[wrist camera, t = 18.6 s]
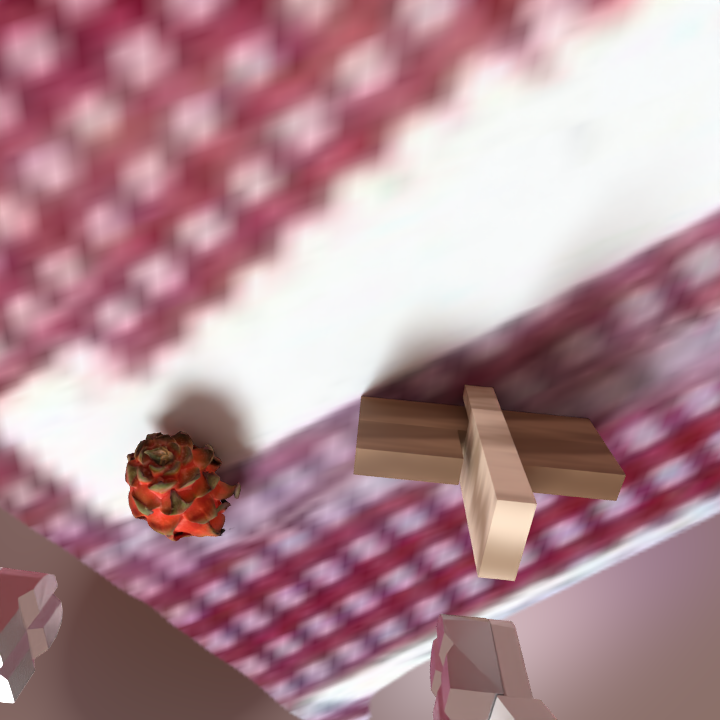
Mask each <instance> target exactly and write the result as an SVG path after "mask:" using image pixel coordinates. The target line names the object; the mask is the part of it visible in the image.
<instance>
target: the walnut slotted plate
mask: <svg viewBox="0 0 720 720" xmlns="http://www.w3.org/2000/svg"><path fill="white" fill-rule="evenodd" d="M502 413H503V416H504V418H505V421H506V424H507V426H508V429H509V432H510V434H511V437H512V439H513V442H514V445H515V447H516V450H517V453H518V455H519V458H520V461H521V463H522V466H523V469H524V471H525V474H526V476H527V479H528V482H529V484H530V487H531V490H532V492H534V493H544V494H554V495H564V496H574V497H584V498H593V499H603V500H613V501H616V500H617V497H618V495H619V492H620V489H621V487H622V484H623V481H624V478H625V476H626V475H625V473H624V472H623V470H622V469H621V467H620V466H619V464H618V463H617V461H616V460H615V458H614V457H613V455H612V453H611V452H610V450H609V449H608V447H607V446H606V444H605V443H604V441H603V440H602V438H601V437H600V435H599V434H598V432H597V431H596V429H595V427H594V426H593V424H592V423H591V421H590V420H589V419H587V418H577V417H566V416H556V415H546V414H536V413H526V412H516V411H506V410H502ZM468 424H469V419H468V416H467V412H466V408H465V406H456V405H446V404H436V403H426V402H416V401H405V400H395V399H385V398H375V397H365V396H361V404H360V414H359V424H358V434H357V445H356V455H355V465H354V474H355V475H365V476H375V477H385V478H395V479H405V480H415V481H425V482H434V483H444V484H454V485H458V484H459V479H460V475H461V470H462V465H463V460H464V458H463V448H464V443H465V438H466V433H467V428H468Z"/></svg>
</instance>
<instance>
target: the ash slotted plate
mask: <svg viewBox="0 0 720 720" xmlns="http://www.w3.org/2000/svg"><path fill="white" fill-rule="evenodd" d="M463 400H464V404H465V408H466V412H467V416H468V419H469V424H468V428H467V433H466V438H465V443H464V448H463V458H464V460H463V465H462V470H461V475H460V479H459V480H460V485H461V491H462V496H463V501H464V506H465V511H466V517H467V522H468V527H469V532H470V537H471V543H472V548H473V553H474V558H475V563H476V569H477V574H478V577H482V578H492V579H502V580H511V581H515V578H516V575H517V571H518V568H519V564H520V561H521V557H522V554H523V550H524V547H525V543H526V540H527V536H528V533H529V530H530V526H531V523H532V519H533V516H534V512H535V509H536V505H537V503H536V500H535V498H534V495H533V492H532V490H531V487H530V484H529V482H528V479H527V476H526V474H525V471H524V469H523V466H522V463H521V461H520V458H519V455H518V453H517V450H516V447H515V445H514V442H513V439H512V437H511V434H510V432H509V429H508V426H507V424H506V421H505V418H504V416H503V413H502V410H501V408H500V405H499V403H498V400H497V397H496V395H495V392H494V389H493V388H491V387H481V386H471V385H465V388H464V393H463Z"/></svg>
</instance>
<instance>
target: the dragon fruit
mask: <svg viewBox="0 0 720 720" xmlns="http://www.w3.org/2000/svg"><path fill="white" fill-rule="evenodd" d="M127 458H128V463H127V467H126V474H125V481H126V482H127V483H128V484H129V486H130V492H129V496H128V499H129V506H130V509H131V511H132V514H133V516H134V517H135V518H138V519H144V520H146V521H148V524H149V526H150V527H151V528H152V529H153V530H154V531H156V532H158V533H160V534H163V535H165V536H166V537H167V538H169V539H171V540H173V541H178V540H179V539H180V538H183V537H189V536H197V537H204V536H210V537H212V536H215V537H216V536H221V534H222V533H223V532H224V531H225V530H224V529H222V527H223V525H224V522H225V516H224V515H223V514H222V513H223V512H224V511H225V510H226V509H227V507H229V506H231V505H230V503H228V502H227V501H226V500H225V499H227V498H229V497H231V496H232V495H233V494H234V496H235V498H236V499H238V498H239V494H240V490H241V489H240V488H241V486H240V483H237V484H236V485H233V486H232V485H228V484H226V483H224V482H222V481H220V477H219V476H218V475H217V474H216V473H214V472H215V471H216V470H217V469H218V468H219V467H220V466H221V464H222V461H221V460H220V458H217V457H216V456H215V455H214V450H213V448H212V447H211V446H210V445H209V444H207V445H206V446H205V447H204V448H198V447H197V446H195V445H193V443H192V440H191V439H190V437H189V435H188V434H186V433H184V432H182V431H180V432H179V433H177V434H176V435H174V436H171V437H170V436H169V435H163V434H162V433H153V434H148V435H147V437H146V440H143V441H140V443H139V444H138V446H137V448H136V450H135V453H132V454H128V455H127ZM220 500H221V502H222V504H221V502H220Z"/></svg>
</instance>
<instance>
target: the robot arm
mask: <svg viewBox="0 0 720 720" xmlns="http://www.w3.org/2000/svg"><path fill="white" fill-rule="evenodd" d="M57 587H58V585H57V582H56V578H55V575H52V574H46V573H38V572H31V571H24V570H16V569H9V568H0V702H10V703H14V702H15V701H16V699H17V697H18V696H19V694H20V693H21V691H22V690H23V688H24V686H25V685H26V684H27V682H28V680H29V679H30V677H31V676H32V674H33V673H34V671H35V665H34V659H35V658H36V657H38V656H39V655H41V654H42V653H44V652H45V651H47V650H48V649H49V648H50V646H51V644H52V643H53V641H54V639H55V638H56V636H57V633H58V630H59V627H60V625H61V622H62V612H63V610H62V604H61V601H60V600H59V599H58V598H57V597H56V596H55V595H54V594H53V592H54V591H55V589H56V588H57ZM436 627H437V638H436V639H435V640H434V641H433V645H432V651H431V662H430V679H431V691H432V692H433V694H434V695H435V697H436V700H435V705H434V709H433V720H557V719H556V717H555V716H554V715H553V714H552V713H551V711H550V710H549V709H548V708H547V707H546V706H545V704H544V703H543V702H542V701H541V700H538V699H533V696H532V692H531V688H530V684H529V680H528V676H527V672H526V668H525V664H524V660H523V656H522V652H521V648H520V644H519V640H518V636H517V632H516V628H515V625H514V624H513V622H511V621H503V620H493V619H486V618H478V617H467V616H456V615H445V614H440V616H439V618H438V622H437V626H436Z"/></svg>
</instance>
